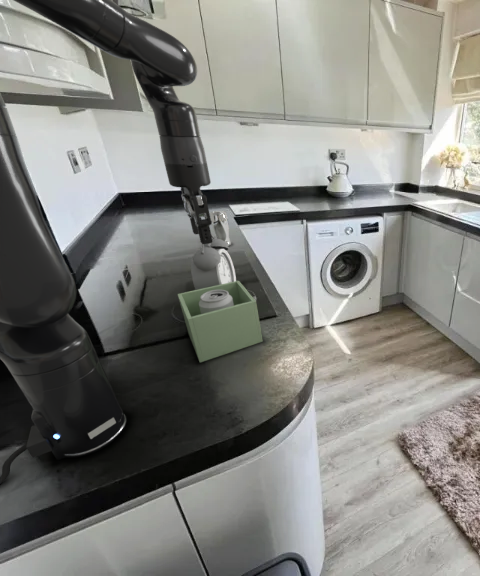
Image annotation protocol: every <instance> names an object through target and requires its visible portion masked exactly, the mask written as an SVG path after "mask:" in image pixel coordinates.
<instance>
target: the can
mask: <svg viewBox="0 0 480 576" xmlns="http://www.w3.org/2000/svg"><path fill="white" fill-rule="evenodd" d="M200 299H201V300H200V302H199V307H200V311H201V314H204V313H208V312H212V311H216V310H219V309H223V308H227V307H231V306H234V304H233V299H232V296H231V295H229V293H228V292H227V291H226V290H212V291H208V292H206V293H204V294H202V295H201V297H200Z"/></svg>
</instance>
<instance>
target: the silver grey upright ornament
mask: <svg viewBox="0 0 480 576" xmlns="http://www.w3.org/2000/svg"><path fill="white" fill-rule="evenodd" d="M209 214H210V218H211V221H212V225H211V227H212V230H213V232H214V235H215V237H216V239H221V240H223V241H225V242H226V243H227V245H228V247H230V246H232V241H231V238H230V224H229V223H230V222H229V218H228V215H227V211H225V210H215V211H209Z"/></svg>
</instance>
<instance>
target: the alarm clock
mask: <svg viewBox="0 0 480 576" xmlns="http://www.w3.org/2000/svg"><path fill="white" fill-rule="evenodd" d="M211 236H212V243H209V244H202V243H201V248H199V249H198V250H196V251H195V252H194V253H193V255H192V257H191V261H190V273H191V279H192V283H193V287H194V290H198V289H203V288H207V287H212V286H216V285H221V284H225V283H230V282H234V281H237V277H236V269H235V267H234V262H233V260H232V258H231V255H230V254H229V252H228V251H229V246H228V245H227V243H226V242H225V241H223V240H221V239H217V238H216V236H214V235H213V233H211Z"/></svg>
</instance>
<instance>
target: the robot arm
mask: <svg viewBox="0 0 480 576" xmlns="http://www.w3.org/2000/svg"><path fill="white" fill-rule="evenodd" d="M13 2H16V3H18V4H19V5H21V6H23V7H25V8H27V9H29V10H31V11H33V13H36V14H37V15H40V16H41V17H43V18H45V19H47V20H49V21H51V22H52V23H54V24H56V25H58V26H60V28H63V29H64V30H67V31H68V32H69V33H71V34H73V35H75V36H77V37H78V38H80V39H81V40H83V41H85V42H87V43H89V44H90V45H92V46H94V47H95V48H98V49H99V50H101V51H103V52H104V53H106V54H108V55H110V56H112V57H115V58H118V59H121V60H127V61H130V64H131V69H132V71H133V73H134V76H135V78H136V81H137V82H138V84H139V87H140V89H141V91H142V92H143V94H144V96H145V98H146V100H147V102H148V104H149V106H150V108H151V109H152V112H153V115H154V121H155V126H156V129H157V133H158V137H159V144H160V150H161V155H162V159H163V162H164V167H165V171H166V175H167V179H168V184H169V185H170V186H171V187H174V188H180V191H181V199H182V202H183V206H184V210H185V211H184V212H185V213H186V214H187V217H188V218H189V221H190V225H191V229H192V233H193V234H194V235H198V237H199V241H200V242H199V243H201V245H202V244H209V243H212V239H213V238H212V236H213V235H212V236H211V234H212V232H211V226H212V221H211V218H210V209H209V204H208V198H207V197H208V196H206V194H203V192H202V189H201V188H202V187H207V186H209V185H210V184H211V177H210V172H209V171H210V170H209V166H208V161H207V157H206V151H205V147H204V144H203V141H202V139H201V138H202V137H201V133H200V128H199V122H198V118H197V113H196V110H195V108H194V107H193V106H192V105H191V104H190V103H187V102H185V101H181V100H180V98H179V97H178V95H177V93H176V91H175V89H174V87H187V86H189V85H192V84H193V83H194V82H195V81H196V79H197V77H198V65H197V63H196V59H195V57H194V56H193V54H192V53H191V51H190V50H189V49H188V48H187V46H186V45H185V44H184V43H183V42H182V41H180V40H179V39H178V38H176V37H175V36H173V35H172V34H170V33H169V32H166V31H165V30H163V29H161V28H159V27H158V26H156V25H153V24H151V23H150V22H148V21H146V20H145V19H141V18H140V17H138V16H135V15H133V14H131V13H130V12H128V11H126V10H125V9H123V8H122V7H121V6H120V5H119V4H117V3H116V2H115V1H113V0H13ZM202 218H203V219H202ZM76 285H77V284H76V282H75V279H74V276H73V274H72V273H71V270H70V268H69V265H67V263H66V261H65V258H64V257H63V255H62V253H61V251H60V248H59V247H58V245H57V243H56V241H55V239H54V237H53V235H52V233H51V231H50V229H49V227H48V224H47V222H46V220H45V217H44V214H43V212H42V209H41V205H40V203H39V199H38V195H37V194H36V190H35V187H34V184H33V181H32V178H31V176H30V173H29V169H28V167H27V164H26V161H25V159H24V156H23V151H22V148H21V145H20V143H19V139H18V136H17V133H16V130H15V127H14V125H13V122H12V119H11V117H10V113H9V111H8V108H7V105H6V102H5V99H4V97H3V94H2V92H0V360H1V361H2V362H3V364H4V365H5V367H6V368H7V369H8V371H9V373H10V374H11V376H12V377H13V379H14V381H15V382H16V384H17V386H18V387H19V389H20V390H21V392H22V394H23V395H24V397H25V398H26V400H27V402H28V403H29V405H30V406H31V409H32V413H31V417H30V418H31V421H32V423H33V424H34V425H32V426H31V427H30V431H29V435H28V439H27V441H26V443H24V444H23V445H22V446H20V447H19V448H18V449H16V450H15V451H14V452H13V453H11V454H10V455H9V456H8V457H7V458H6V460H5V461H4V462H3V464H2V467H1V475H0V485H1V484H3V483H4V482H5V481H6V480H7V479H8V478H9V477H10V474H11V465H12V463H13V462H14V461H15V459H17V458H18V457H19V456H20V455H21V454H22V453H24V452H26V451H28V452H29V454H30V456H31V457H32V458H34V459H35V458H37V457H39V456H42V455H45V454H47V453H50V452H51V453H52V454H53V456H54V457H55V459H56V461H59V460H63V459H65V458H68V459H74V458H81V457H86V456H88V455H91V454H94V453H96V452H98V451H100V450H102V449H104V448H105V447H107V446H109V445H110V444H111V443H113V442H114V441H115V440H116V439H118V438H119V437H120V436H121V434H122V433H123V432H124V431H125V429H126V427H127V424H128V419H127V416H126V414H125V413H124V410H123V408H122V407H121V405H120V403H119V401H118V398H117V396H116V394H115V391H114V389H113V387H112V385H111V382H110V380H109V378H108V376H107V374H106V372H105V369H104V367H103V365H102V362H101V360H100V359H99V356H98V354H97V351H96V349H95V347H94V345H93V343H92V341H91V338H90V336H89V334H88V332H87V330H86V329H85V328H84V327H83V326H82V325H80V324H79V323H78V322H77V321H76V320H75V319H74V318H73V317H72V315H70V312H71V311H72V308H73V307H74V306H75V305H74V304H75V302H76V300H77V286H76Z"/></svg>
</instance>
